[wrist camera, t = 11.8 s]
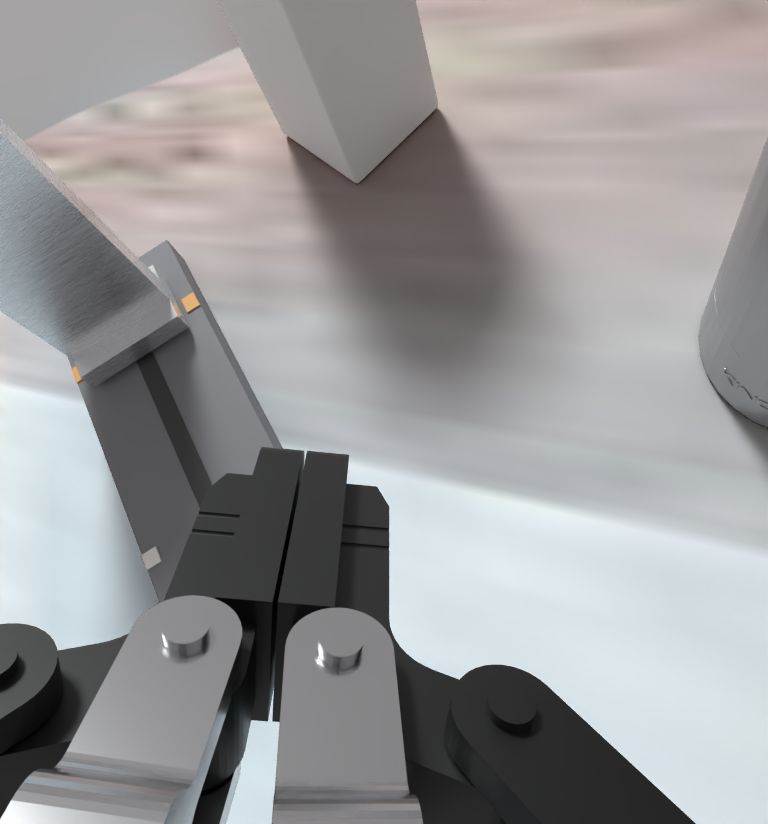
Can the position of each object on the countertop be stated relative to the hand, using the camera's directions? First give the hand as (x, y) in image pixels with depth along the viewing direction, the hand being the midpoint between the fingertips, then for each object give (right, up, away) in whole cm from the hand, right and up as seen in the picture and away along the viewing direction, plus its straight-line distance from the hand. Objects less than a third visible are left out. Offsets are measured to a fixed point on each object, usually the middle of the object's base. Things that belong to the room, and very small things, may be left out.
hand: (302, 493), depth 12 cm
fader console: (-9, 0, +25) cm, 27 cm away
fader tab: (-13, +6, +26) cm, 29 cm away
